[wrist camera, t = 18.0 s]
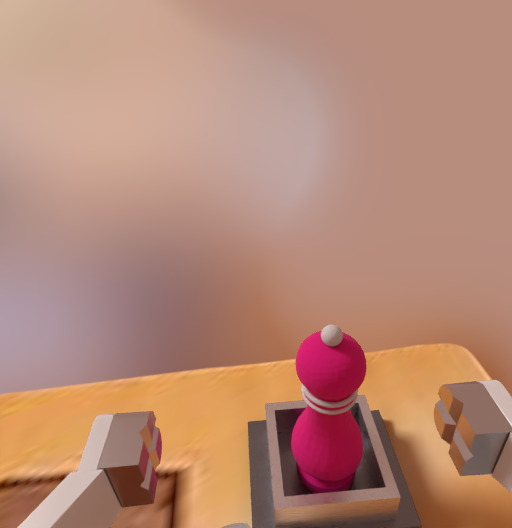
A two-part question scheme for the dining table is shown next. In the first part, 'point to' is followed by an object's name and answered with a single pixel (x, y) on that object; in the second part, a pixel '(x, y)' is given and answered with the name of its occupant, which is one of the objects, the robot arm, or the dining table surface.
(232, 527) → the adjustable wrench
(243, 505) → the dining table surface
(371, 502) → the socket stand
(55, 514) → the robot arm
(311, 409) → the pepper mill
